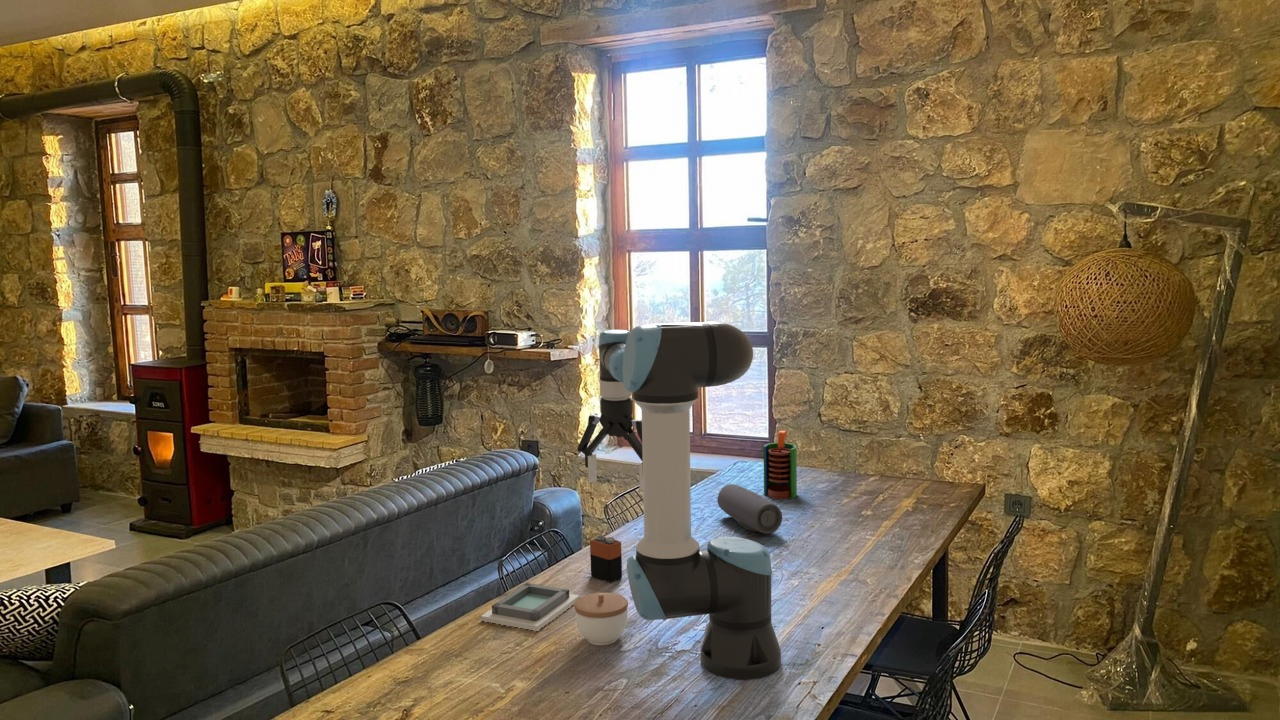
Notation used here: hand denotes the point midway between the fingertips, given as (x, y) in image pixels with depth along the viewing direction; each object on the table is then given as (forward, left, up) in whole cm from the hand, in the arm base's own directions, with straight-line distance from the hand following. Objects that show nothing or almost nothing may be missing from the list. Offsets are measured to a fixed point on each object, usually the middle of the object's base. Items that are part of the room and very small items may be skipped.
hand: (617, 485), depth 215 cm
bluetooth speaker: (+49, -16, -23) cm, 56 cm away
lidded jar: (-32, -12, -23) cm, 41 cm away
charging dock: (-25, +9, -23) cm, 35 cm away
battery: (-1, +3, -23) cm, 23 cm away
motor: (+83, -15, -23) cm, 87 cm away
